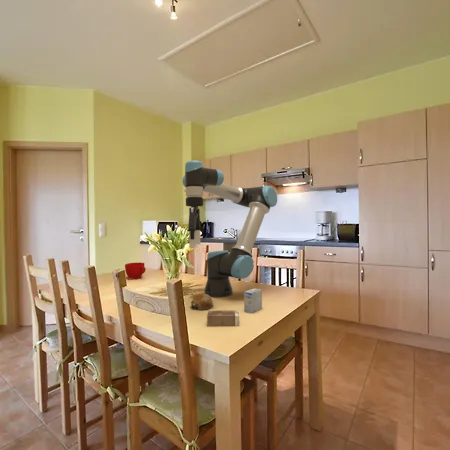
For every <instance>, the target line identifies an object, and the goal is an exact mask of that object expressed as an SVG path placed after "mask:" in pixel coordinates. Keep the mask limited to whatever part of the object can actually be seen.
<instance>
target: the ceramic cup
mask: <svg viewBox="0 0 450 450" xmlns="http://www.w3.org/2000/svg"><path fill="white" fill-rule="evenodd" d="M124 269H125V274H126V276H127V277H128V278H129V280H139V279H140V278H141V277H143V274H144V273H145V272H146V269H147V268H146V267H145V262H130V263H126V264H124Z"/></svg>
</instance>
